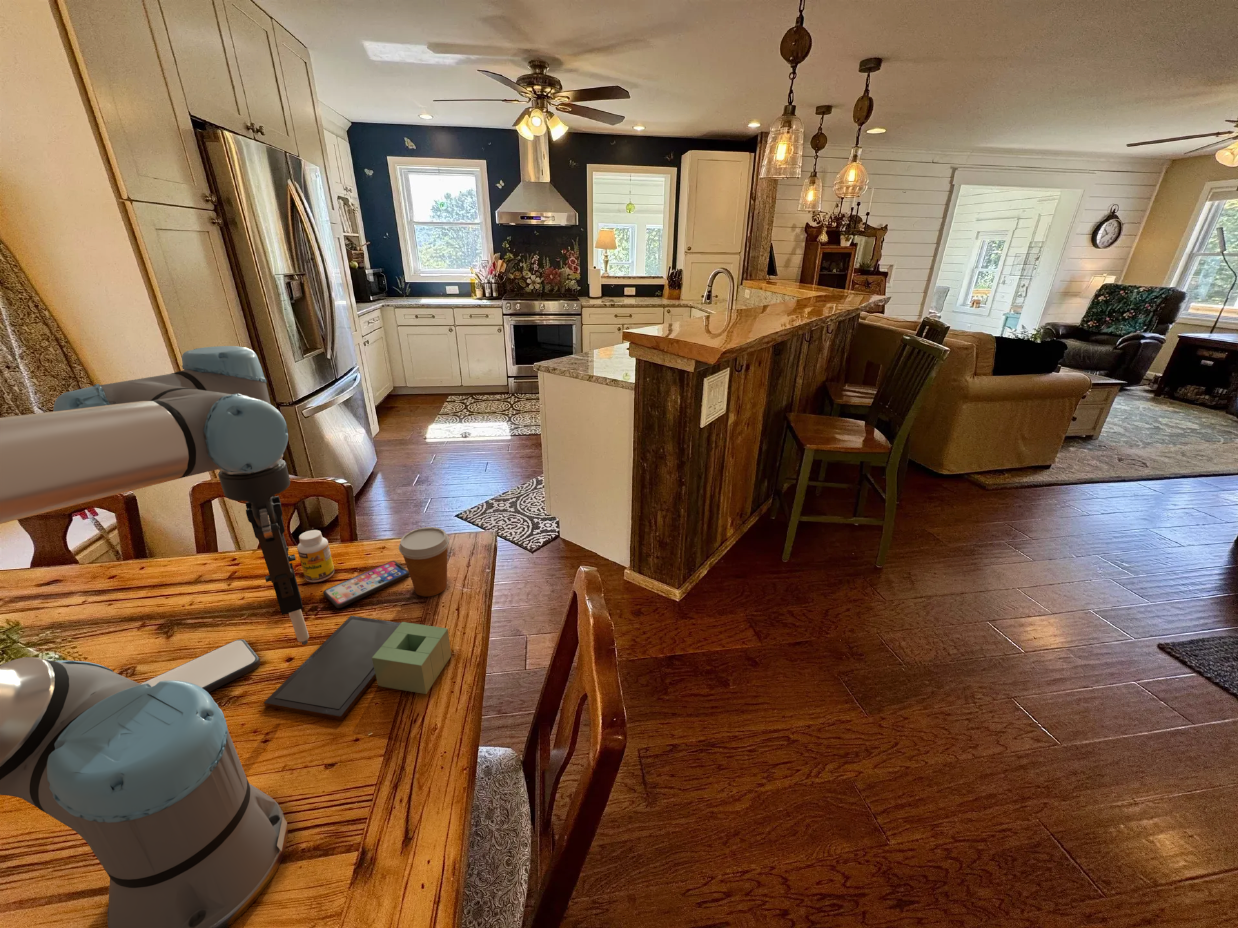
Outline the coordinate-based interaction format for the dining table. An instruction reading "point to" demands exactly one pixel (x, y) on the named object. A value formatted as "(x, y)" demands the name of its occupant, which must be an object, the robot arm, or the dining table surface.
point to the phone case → (214, 667)
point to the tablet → (335, 671)
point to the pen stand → (412, 657)
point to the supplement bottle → (315, 556)
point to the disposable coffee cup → (426, 559)
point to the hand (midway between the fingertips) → (291, 605)
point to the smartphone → (365, 584)
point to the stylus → (299, 626)
